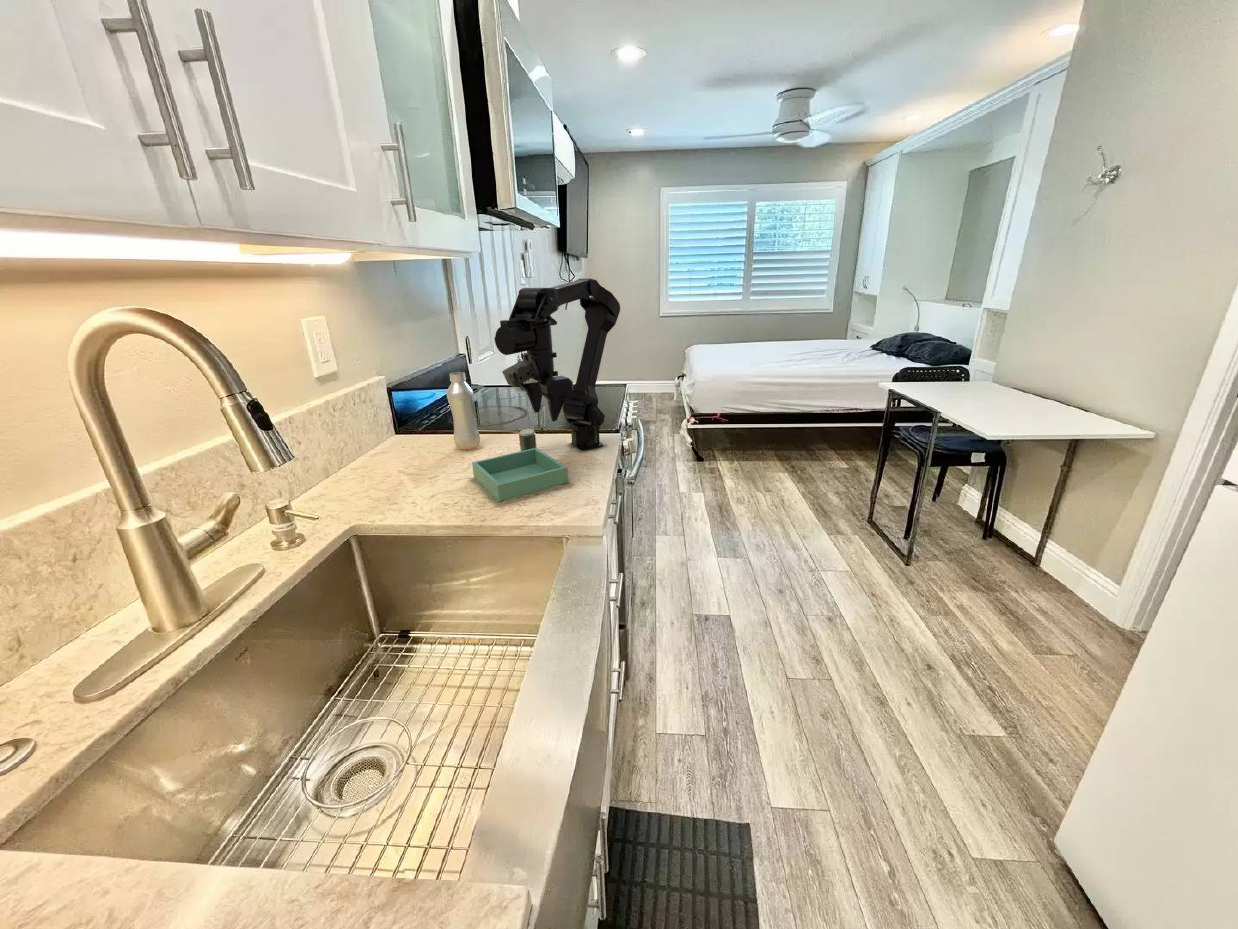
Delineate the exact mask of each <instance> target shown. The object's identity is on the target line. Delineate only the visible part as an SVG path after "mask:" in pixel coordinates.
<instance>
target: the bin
mask: <svg viewBox="0 0 1238 929" xmlns="http://www.w3.org/2000/svg"><path fill="white" fill-rule="evenodd" d="M471 465H472V466H471V467H472V472H473V478H474V479H475V480H477V482H479V483H480V484H481V485H482V486H483V487H484V488H485V489H486V490H487V491H488V492H489V493H490V494H491V495H492V496H493V497H494V498H495V499H496V500H497V501H498V502H505V501H508V500H511V499H514V498H519V497H522V496H526V495H529V494H532V493H536V492H540V491H543V490H546V489H550V488H554V487H558V486H561V485H564V484H568V483H569V472H568V467H567V466H566V465H564V464H563V463H562V462H559V461H558V460H556V459H555V458H553V457H552V456H550V455H548V454H547V453H545V452H544V451H542V450H540V449H539V448H538V447H537V448H533V449H528V450H524V451H521V450H520V451H516V452H511V453H507V454H503V455H497V456H494V457H489V458H486V459H481V460H476V461H472V462H471Z"/></svg>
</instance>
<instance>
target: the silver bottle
mask: <svg viewBox="0 0 1238 929" xmlns="http://www.w3.org/2000/svg"><path fill="white" fill-rule="evenodd" d="M466 380H467V377H466V373H465V371H452V372H449V381H450V382H451V383H450V385H449V386H448V388H447V391H446V398H447V401H448V405H449V408H450V412H451V415H452V422H453V442H454V445H455V446H456V447H457V448H458V449H460V450H472V449H475V448H477V447H479V445H480V444H481V436H480V432H479V430H478V427H477V423H476V419H475V410H474V391H473V389H472V388H471V387H470V385H469V384H468V383H467V382H466Z"/></svg>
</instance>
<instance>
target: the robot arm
mask: <svg viewBox="0 0 1238 929" xmlns="http://www.w3.org/2000/svg"><path fill="white" fill-rule="evenodd" d="M575 301H579V306H580V307H581V308H582V309H583V310H584V319H585V323H586V326H587V332H586V336H585V341H584V345H583V349H582V354H581V359H580V362H579V363H580V364H579V367H578V370H577V371H578V372H577V376H576V381H575V383H574V381H573V380H572V379H571V378H569V377H567V376H564V375H559V371H558V370H555V363H554V359H555V358H557V357H558V356H557V352H556V351H554V350H553V337H552V327H553V326H557V325H558V321H557V320H556V319H555V318H554V317H552V316H551V315H552V314H554V313H556V312H557V311H558V310H559V308H560V307H561V306H563V305H566V304H569V303H572V302H575ZM620 312H621V304H620V302H619V301H618V299H617V298H616V297H615V295H614V294H613V293H612V292H611V291H610V290H608V289H606V288H605V287H604V286H602V285H601V283H599V281H598V280H597V279H594V278H578V279H576V280H573V281H569V282H565V283H562V284H559V285H554V286H551V287H522V288H520V289H519V290H518V294H517V297H516V299H515V302H514V305H513V306H512V310H511V312H510V315H509V318H508V319H502V320H500V321H499V324H500V326H499V327H498V328H497V329H496V332H495V335H494V343H495V346H496V349H497V350H498V351H499V352H500V353H501V354H502V355H504V356H508V355H509V356H511V355H514V354H519V353H523V354H522V360H521V361H518V362H516V363H515V364H512V365H511V366H509V367H506V368H505V369H504V370H502V371H501V372H502V375H503V377H504V379H505V381H506V383H507V385H508V386H511V387H512V388H517V387H520V388H522V389H523V390H525V392H526V394H527V397H528V399H529V402H530V405H531V408H532V409H533V410H532V411H533V412H534V413H539V412H540V410H541V405H542V399H543V398H545V399H546V401H547V406H548V411H549V416H550V420H551V422H557V421H558V419H559V416H560V413H561V411H562V412H563V414H564V417H565V420H566V423H567V424H572V425H571V426H572V427H571V428H572V429H571V430H570V434H571V442H570V446H572V447H574V448H576V449H578V450H579V451H582V452H585V451H589V450H592V449H596V448H600V447H603V446H604V443H602V442H601V441H600V427H601V426H602V425H604V422H605V417H606V415H605V414H604V413H603V412H602V410H601V409H600V407H598V405H599V398H598V394H597V391H596V385H597V380H598V375H599V371H600V367H601V363H602V359H603V358H602V357H603V354H604V349H605V346H606V345H605V344H606V341H607V336H608V333H609V332H610V331H611V330H612V329H613V328H614V327H615V326H616V324H617V322H618V318H619V316H620Z"/></svg>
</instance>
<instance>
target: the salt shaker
mask: <svg viewBox="0 0 1238 929" xmlns="http://www.w3.org/2000/svg"><path fill="white" fill-rule="evenodd" d="M518 438H519V439H518V440H519V448H520V451H524V450H528V449H533V448H537V449H538V445H537V436H536V432H535V430H534V429H531V428H526V429H522V430H520V431H519V433H518Z"/></svg>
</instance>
